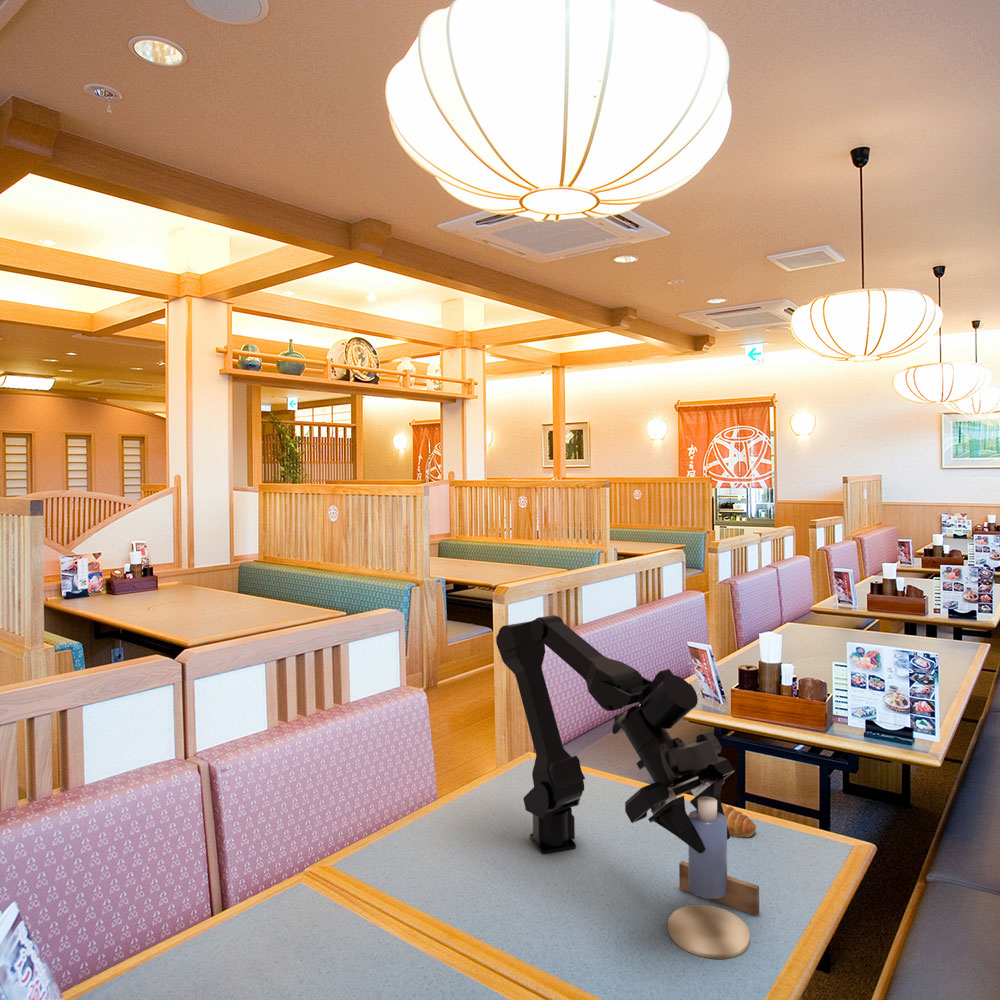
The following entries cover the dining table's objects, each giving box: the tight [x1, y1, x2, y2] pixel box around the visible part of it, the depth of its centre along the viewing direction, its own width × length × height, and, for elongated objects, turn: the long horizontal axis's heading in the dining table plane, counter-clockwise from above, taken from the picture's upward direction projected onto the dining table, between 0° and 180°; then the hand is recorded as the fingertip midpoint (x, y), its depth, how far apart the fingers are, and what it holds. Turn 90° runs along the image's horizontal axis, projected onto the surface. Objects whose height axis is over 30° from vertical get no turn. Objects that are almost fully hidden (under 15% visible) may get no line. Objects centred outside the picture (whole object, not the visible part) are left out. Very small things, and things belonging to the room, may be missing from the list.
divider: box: [678, 860, 760, 917], centre depth 111 cm, size 12×1×4 cm, turn 52°
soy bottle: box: [687, 796, 728, 900], centre depth 102 cm, size 5×5×12 cm
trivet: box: [667, 904, 751, 960], centre depth 103 cm, size 11×11×1 cm
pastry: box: [721, 803, 757, 838], centre depth 133 cm, size 9×7×4 cm
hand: (715, 845), depth 101 cm, fingers closed on soy bottle, 5 cm apart
